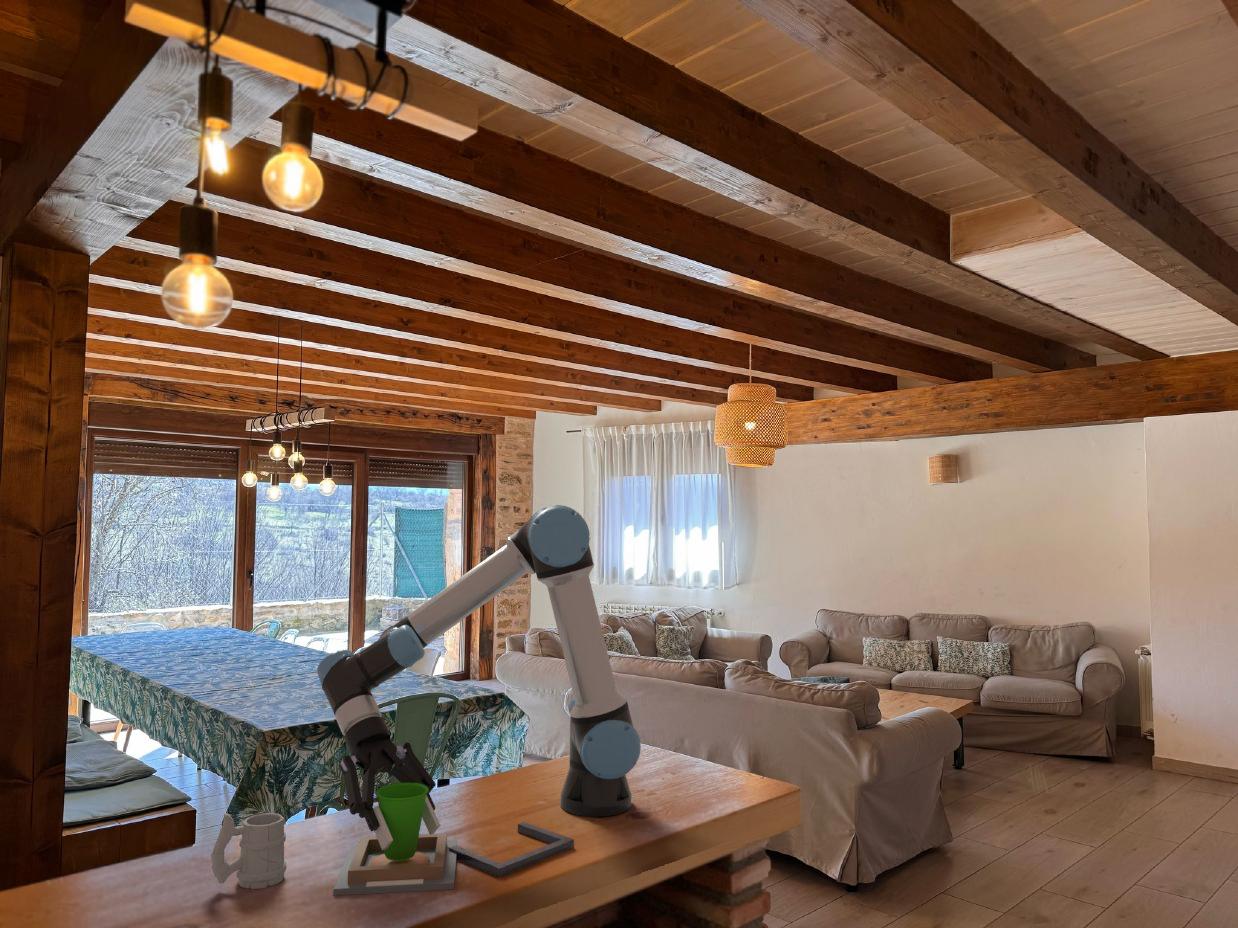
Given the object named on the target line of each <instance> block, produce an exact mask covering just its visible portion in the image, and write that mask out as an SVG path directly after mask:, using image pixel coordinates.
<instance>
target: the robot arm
mask: <svg viewBox="0 0 1238 928" xmlns="http://www.w3.org/2000/svg"><path fill="white" fill-rule="evenodd" d="M590 534H591V533H590V529H589V526H588V524H587V521H586V520H585V518H584V517H583V516H582V514H580V512H578V511H577V510H575V509H573V508H572V507H569V506H566V505H561V504H557V505H550V506H547V507H544V508H542V509H541V508H540V509H539V510H538V511H536V512H535V513H534V514H532V516H530V518H529V519H528V520H527V521H526V522H524V524H523V525H522V526H521V527H519V528H518V529H517V530H516V531H515V532H513V533H512V534H510V535H509V536H508V537H507V539H506V543H505V545H503V546H502V547H501V548H499V549H498V550H497V551H495V552H494V553H492V554H491V555H489V556H488V557H487V558H485V559H484V560H483V561H481V562H479V563H478V564H477V565H475V566H474V567H473V568H471V569H470V570H469V571H467V572H466V573H464V574H463V575H462V576H460V577H459V578H458V579H456V580H455V581H453V582H452V583H451V584H448V586H446V587H445V588H443V589H442V590H441V591H440V592H438V593H437V594H435V595H434V596H432V597H431V598H430V599H428V600H426V602H423V604H421V605H420V606H419V607H417V608H416V609H414V610H413V611H412V612H410V613H408V614H407V615H406V616H405V617H403V618H402V619H400V620H399V621H398V622H396V623H395V624H393V625H390V626H389V627H387V628H386V629H385V630H383V632H381V635H380V636H379V638H378V639H377V640H376V641H374V642H373V643H371V644H370V645H368V646H367V647H365V648H363V649H362V650H360V651H358V652H357V653H353V651H351V650H349V649H340V650H337V651H336V652H331V653H329V654H327V655H326V656H325V657H324V658H322V659H321V661H320V662H319V663H318V665H317V669H316V670H317V672H316V674H317V676H318V679H319V682H320V686H321V689H322V691H323V693H324V694H325V697H326V699H327V702H328V703H329V706H330V707H331V710H332V713H333V715H334V717H335V719H336V723H337V725H338V727H339V729H340V731H341V733H342V735H343V736H344V742H345V744H346V747H347V748H348V751H349V753H350V755H352V756H350V755H345V756H344V757H343V759H342V760H341V762H340V763H339V765H338V767H339V769H340V771H341V773H342V775H343V778H344V784H345V790H346V797H347V803H348V809H349V813H350V814H351V815H353V816H354V815H355V816H356V814H358V816H359V818H361V819H365V822H366V824H367V827H368V829H369V831H371V832H374V833H375V836H377V839H378V841H379V843H380V846H381V848H382V850H385V849H387V848H388V846H389V845H390V844H391V843H392V841H393V839H392V836H391V834H390V832H389V829H388V827H387V825H386V822H385V820H384V818H383V815H382V813H381V811H380V808H379V805H375V806H374V797H375V782H376V779H375V778H376V776H377V775H378V774H381V773H382V774H384V773H387V774H388V775H389V776H390V777H391V776H392V777H394V778H395V779H396V780H397V781H399V783H404V782H411V783H419V784H423V785H425V786H427V787H428V789H429V792H428V793H427V794H426V798H425V804H424V809H423V815H422V821H423V823H424V825H425V826H426V829H427V832H428V834H430V835H431V834H436V831H437V830H438V829H439V828H440V826H441V824H440V821H439V819H438V816H437V815H436V813H435V810H436V805H435V803H434V801H433V799H432V797H431V795H430V793H431V792H432V791H433V789H434V788H435V786H436V784H437V783H436V782H435V781H434V779H433V778H432V776H431V775H430V773H429V772H428V771H427V770H426V768H425V767H424V765H423V764H422V762H421V761H420V759H418V757H417V756H416V755H415V753H414V751H413V748H412V745H411V743H410V742H405V743H404V744H403V745H397V744H395V743H394V742H393V741H392V739H391V733H390V730H389V728H388V726H387V723H386V722H385V719H384V718H383V716H382V712H381V710H380V708H379V706H378V703H377V702H376V699H375V697H374V695H373V694H372V690H374V689H375V688H378V687H379V686H381V685H382V684H383V683H385V682H386V681H388V680H390V679H392V678H393V677H395V676H396V675H398V674H400V673H402V672H404V671H405V670H407V669H408V668H411V667H413V666H414V664H416V663H417V662H418V661H420V660H421V659H422V658H424V656H425V648H426V647H427V646H428V645H430V644H432V643H433V642H435V640H437V639H439V637H441V636H443V635H444V634H445V633H447V632H448V631H449V630H450V629H452V628H453V627H455V626H456V625H458V624H459V623H460V622H462V621H463V620H465V619H466V618H467V617H469V616H470V615H471V614H473V613H474V612H475V611H477V610H479V608H481V607H482V606H484V605H485V604H486V603H488V602H489V601H490V600H492V599H494V598H495V597H496V596H498V595H499V594H500V593H502V592H503V591H505V589H508V588H509V587H510V586H511V585H513V584H514V583H516V582H517V581H518V580H520V579H521V578H522V577H524V576H525V575H527V574H531V575H536V580H537V581H539V582H540V583H542V584H544V585H545V586H546V587H547V592H548V595H549V599H550V604H551V607H552V611H553V616H554V621H555V625H556V628H557V629H556V630H557V632H558V633H557V634H558V637H559V641H560V646H561V649H562V653H563V654H562V655H563V658H564V662H565V667H566V670H567V675H568V678H569V682H570V686H571V691H572V694H573V698H572V699H571V700H570V708H569V717H570V718H569V719H570V722H569V723H570V725H569V727H570V728H569V766H568V767H569V768H568V770H567V774H566V777H565V781H564V783H563V786H562V790H561V792H560V808H561V809H562V810H564V811H565V812H568V813H570V814H573V815H578V816H584V817H597V818H598V817H611V816H616V815H620V814H623V813H625V812H627V811H629V810H630V809H631V808H632V792H631V788H630V786H629V785H630V784H629V783H628V777H627V774H628V773H629V772H631V771H632V770H633V769H634V767H635V766H636V765H637V762H638V761H639V758H640V755H641V747H642V746H641V738H640V735H639V734H638V731H637V730H636V728H635V727H634V723H633V719H632V716H631V711H630V707H629V704H628V699H627V697H626V696H624V695H622V694H621V693H619V692H618V691H617V687H616V682H615V678H614V673H613V669H612V666H611V662H610V657H609V654H608V650H607V644H606V641H605V640H606V639H605V637H604V633H603V629H602V625H601V620H600V617H599V612H598V608H597V605H596V604H597V603H596V600H595V596H594V591H593V587H592V583H591V579H590V574H591V572H592V571H593V568H594V567H595V563H594V561H593V555H592V552H591V550H592V549H591V546H590V540H591V537H590ZM357 767H359V768H360V769H361V770H362V771H361V773H362V775H361V781H362V786H361V787H362V789H361V787H360V781H359V777H358V770H357Z"/></svg>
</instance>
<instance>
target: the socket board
mask: <svg viewBox="0 0 1238 928" xmlns="http://www.w3.org/2000/svg"><path fill="white" fill-rule="evenodd" d="M455 845H457V846H458V839H456V840H455V839H454V840H451V839H450V840H448V833H447V832H443V833H441V832H440V833H434V834H431V835H430V834H429V833H422V834H421V833H419V837H418V842H417V848H416V853H415V854H414V856H413V857H412V858H410V859H407V860H402V861H393V860H389V859H387V858H386V856H385V854H384V850H382V848H381V846H380V843H379V841H378V839H377V836H376V835H371V836H360V839H359V841H358V843H356V844H351V845H350V847H349V850H348V852H347V855H346V857H345V860H344V861H343V864H342V867H341V869H340V872H339V874H338V877H337V879H336V882H335V884H334V887H333V889H332V890H333V891H332V892H333V893H332V895H333V896H352V895H368V894H371V895H372V894H388V893H389V894H390V893H407V892H408V893H409V892H424V891H425V892H427V891H428V892H429V891H445V890H450V891H451V890H454V889H455V881H456V880H455V878H456V868H457V867H456V865H457V860H456V853H454V852H451V851H449V847H452V846H455Z"/></svg>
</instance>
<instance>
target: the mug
mask: <svg viewBox="0 0 1238 928" xmlns="http://www.w3.org/2000/svg"><path fill="white" fill-rule="evenodd" d="M240 834H241V837H240V839H239V847H240V856H239V857H238V858H236V859H234V860H232V861H231V862H227V861H226V859H225V852H226V851H225V849H226V847H227V845H228V844H229V842H230V840H231V839H232V838H233V837H234V836H237V835H240ZM286 837H287V833H286V832H285V818H284V816H282V814H280V813H273V812H271V813H270V812H267V813H265V812H264V813H261V814H255V815H251V816H249V817H247V818H245V819H244V820H243V822H242V825H238V826H236V825H235V822H234V819H233V817H232V815H231V814H229V813H227V812H224V813H223V823H222V826H221V828H220V831H219V834H218V837H217V839H216V841H215V843H214V847H213V849H212V852H211V854H210V859H211V862H212V864H211V870H212V873H213V875H214V878H216V880H217V882H218V883H219V884H224V883H225V881H226V880H227V879H228V878H229V877H230V876H231V875H232V874H233V873H235V872H236V878H237V879H238V880H237V881H238V886H240V887H241V888H244V889H247V890H248V889H251V890H257V889H259V890H260V889H266V888H267V887H272V886H275V885H277V884H279V883H281V882H282V881H283V880H284V879H285V873H286V871H287V867H288V866H287V862H286V861H285V841H286Z"/></svg>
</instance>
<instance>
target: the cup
mask: <svg viewBox="0 0 1238 928" xmlns="http://www.w3.org/2000/svg"><path fill="white" fill-rule="evenodd" d="M428 792H429V789H428V787H427V786H425V785H423V784H419V783H411V782H404V783H401V782H395V783H389V784H385V785H382V786H381V787H379V788H377V789H376V790H375V791H374V796H376V798H377V806H379V808H380V811H381V813H382V815H383V818H384V820H385V822H386V825H387V827H388V829H389V832H390V834H391V836H392V839H393V841H392V843H391V844H390V845H389V846H388V848H387V849H385V850H384V854H385V856H386V858H387V859H389V860H393V861H402V860H407V859H410V858H412V857H413V856H414V854H415V853H416V848H417V842H418V837H419V834H420V831H421V826H422V821H423V818H422V815H423V809H424V804H425V798H426V794H427V793H428Z"/></svg>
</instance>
